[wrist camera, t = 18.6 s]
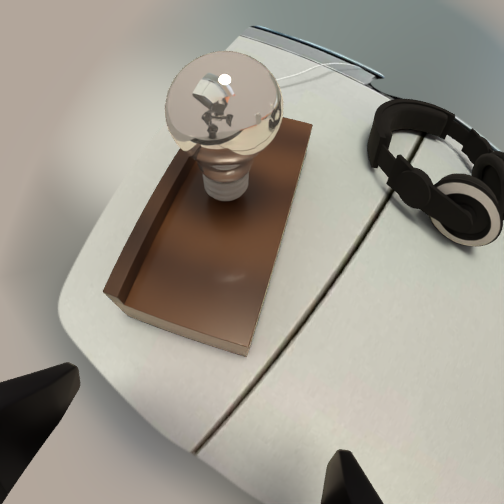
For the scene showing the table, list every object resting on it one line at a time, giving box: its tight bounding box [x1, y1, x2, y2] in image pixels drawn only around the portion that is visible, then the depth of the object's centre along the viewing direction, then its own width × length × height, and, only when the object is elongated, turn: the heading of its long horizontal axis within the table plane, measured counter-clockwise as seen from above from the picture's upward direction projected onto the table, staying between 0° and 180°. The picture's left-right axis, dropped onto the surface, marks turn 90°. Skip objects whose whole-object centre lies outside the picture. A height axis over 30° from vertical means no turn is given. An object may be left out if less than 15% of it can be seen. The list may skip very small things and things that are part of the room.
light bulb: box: [165, 51, 283, 201], centre depth 19 cm, size 7×7×12 cm
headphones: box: [368, 99, 504, 246], centre depth 30 cm, size 18×8×20 cm
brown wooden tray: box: [103, 117, 313, 357], centre depth 26 cm, size 22×10×6 cm, turn 164°
